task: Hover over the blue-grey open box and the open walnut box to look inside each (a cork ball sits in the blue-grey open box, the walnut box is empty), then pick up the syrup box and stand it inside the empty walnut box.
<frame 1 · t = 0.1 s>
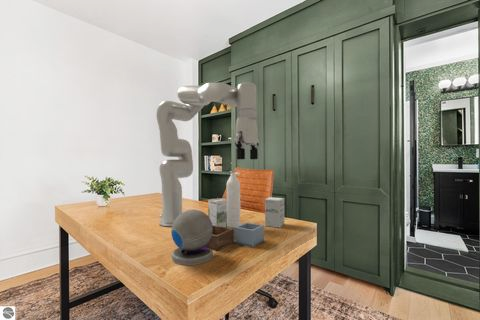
hand: (247, 159, 91), 31 cm above the table, tool pointing down, fingers open, 9 cm apart
webcam: (192, 257, 75), on the table
cork ball: (249, 235, 88), in the blue-grey open box, point 2 cm above the table
supplement box: (275, 225, 110), on the table
water bottle: (235, 225, 111), on the table
walnut box: (215, 243, 87), on the table
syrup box: (217, 234, 99), on the table
blue-grey open box: (249, 242, 88), on the table
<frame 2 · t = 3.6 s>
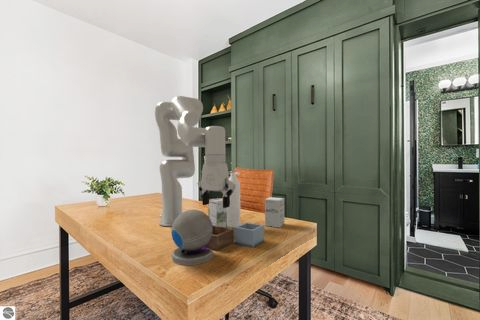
hand: (215, 205, 87), 14 cm above the table, tool pointing down, fingers open, 9 cm apart
nothing on the table moved.
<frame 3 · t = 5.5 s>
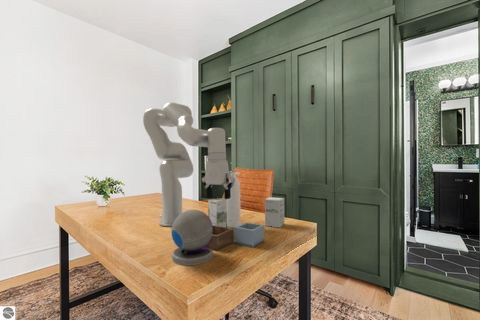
hand: (218, 198, 99), 15 cm above the table, tool pointing down, fingers open, 9 cm apart
nothing on the table moved.
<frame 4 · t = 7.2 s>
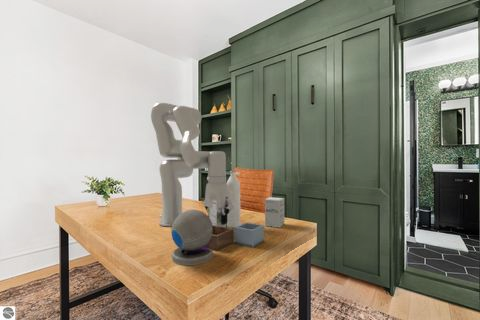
hand: (217, 222, 99), 5 cm above the table, tool pointing down, fingers closed on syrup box, 6 cm apart
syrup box: (217, 234, 99), on the table, touching gripper
everything else where it was.
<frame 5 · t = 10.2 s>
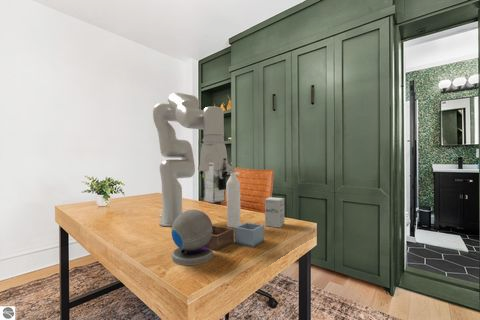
hand: (214, 188, 87), 20 cm above the table, tool pointing down, fingers closed on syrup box, 6 cm apart
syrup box: (214, 201, 87), point 16 cm above the table, touching gripper
everything else where it was.
when the fingers open (7 cm above the table, at t = 13.4 s): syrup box drops 1 cm, resting on walnut box.
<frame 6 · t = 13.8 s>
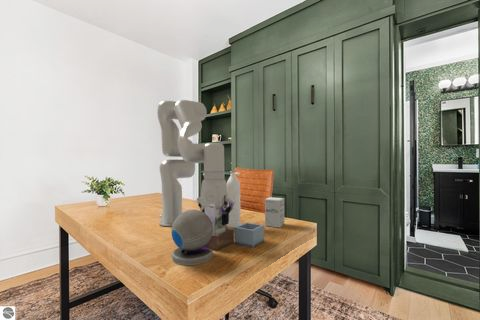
hand: (215, 222, 87), 8 cm above the table, tool pointing down, fingers open, 9 cm apart
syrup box: (215, 241, 87), point 1 cm above the table, touching walnut box
everything else where it was.
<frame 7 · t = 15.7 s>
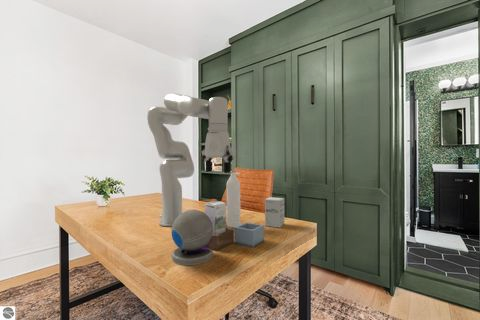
hand: (217, 172, 94), 26 cm above the table, tool pointing down, fingers open, 9 cm apart
nothing on the table moved.
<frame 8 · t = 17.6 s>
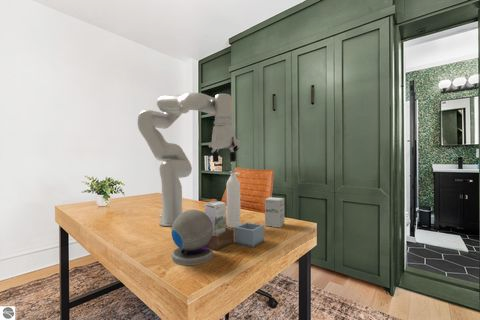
hand: (224, 161, 103), 30 cm above the table, tool pointing down, fingers open, 9 cm apart
nothing on the table moved.
at the end: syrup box 0.1 cm off-centre on the walnut box, point 0.6 cm above the walnut box's base; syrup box tilted 0°; the gripper is holding nothing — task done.
